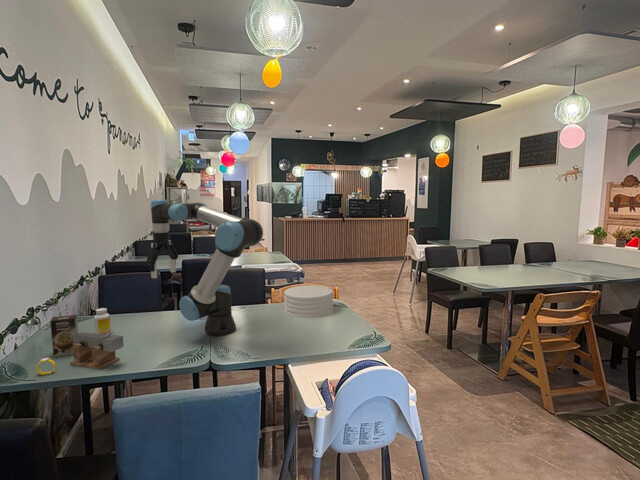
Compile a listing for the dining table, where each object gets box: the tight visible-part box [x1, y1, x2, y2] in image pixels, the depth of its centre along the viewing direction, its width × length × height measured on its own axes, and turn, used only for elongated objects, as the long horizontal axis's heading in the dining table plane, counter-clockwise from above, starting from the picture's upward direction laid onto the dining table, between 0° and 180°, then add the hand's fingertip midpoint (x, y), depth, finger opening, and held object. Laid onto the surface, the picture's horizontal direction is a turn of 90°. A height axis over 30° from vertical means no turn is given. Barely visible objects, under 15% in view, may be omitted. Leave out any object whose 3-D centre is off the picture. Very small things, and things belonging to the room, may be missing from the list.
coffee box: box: [49, 314, 79, 358], centre depth 168 cm, size 9×6×16 cm
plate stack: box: [283, 284, 334, 319], centre depth 225 cm, size 28×28×12 cm
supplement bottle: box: [93, 307, 112, 336], centre depth 190 cm, size 7×7×13 cm
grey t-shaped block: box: [74, 331, 124, 352], centre depth 157 cm, size 20×6×4 cm, turn 73°
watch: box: [35, 357, 57, 376], centre depth 149 cm, size 6×3×6 cm, turn 108°
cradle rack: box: [70, 343, 121, 370], centre depth 159 cm, size 16×9×8 cm, turn 73°
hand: (164, 275), depth 190 cm, fingers open, 13 cm apart
